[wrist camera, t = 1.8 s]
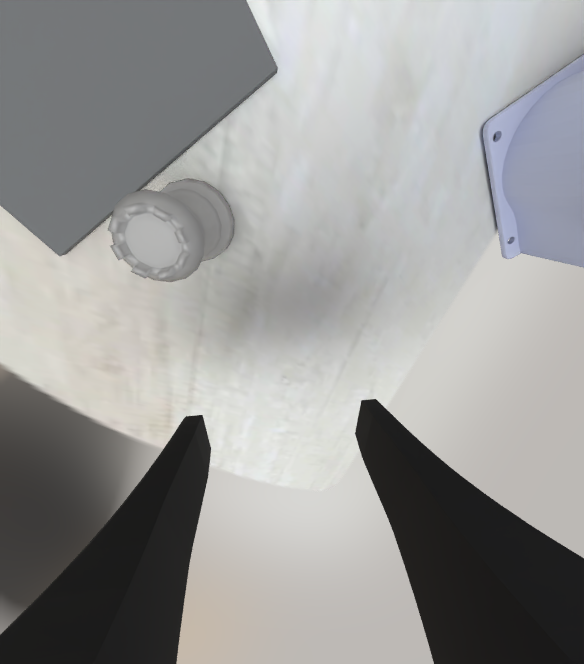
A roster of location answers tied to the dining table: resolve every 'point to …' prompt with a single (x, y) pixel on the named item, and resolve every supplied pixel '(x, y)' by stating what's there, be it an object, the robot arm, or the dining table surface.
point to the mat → (112, 99)
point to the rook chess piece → (171, 229)
